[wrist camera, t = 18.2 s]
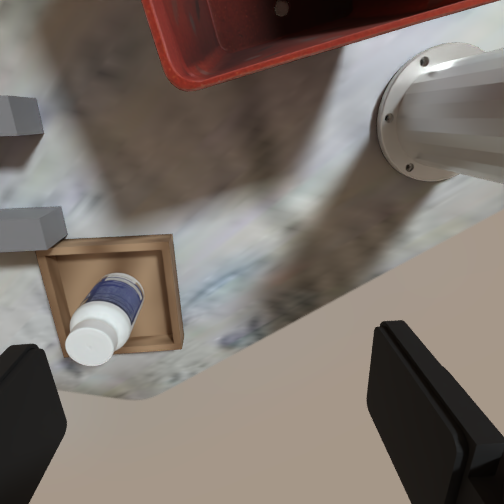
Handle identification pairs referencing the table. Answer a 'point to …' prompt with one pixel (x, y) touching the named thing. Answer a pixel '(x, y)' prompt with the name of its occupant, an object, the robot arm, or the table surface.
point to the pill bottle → (104, 319)
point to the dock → (26, 219)
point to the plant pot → (271, 32)
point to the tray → (117, 261)
